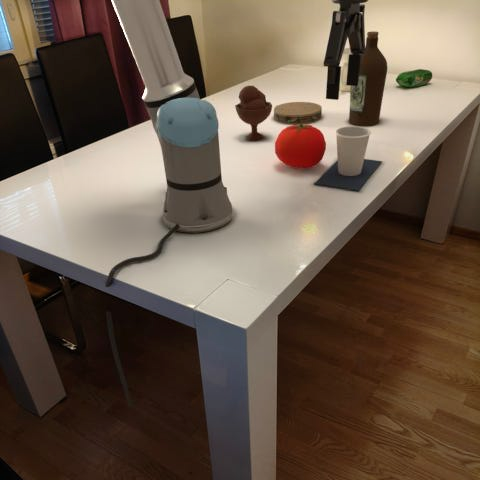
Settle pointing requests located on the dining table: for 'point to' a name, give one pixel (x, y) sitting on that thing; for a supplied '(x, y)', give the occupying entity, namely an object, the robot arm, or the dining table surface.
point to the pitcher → (344, 70)
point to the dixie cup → (351, 149)
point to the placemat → (348, 182)
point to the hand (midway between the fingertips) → (342, 92)
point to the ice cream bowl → (253, 110)
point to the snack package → (414, 78)
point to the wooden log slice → (297, 113)
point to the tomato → (300, 146)
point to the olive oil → (368, 85)
